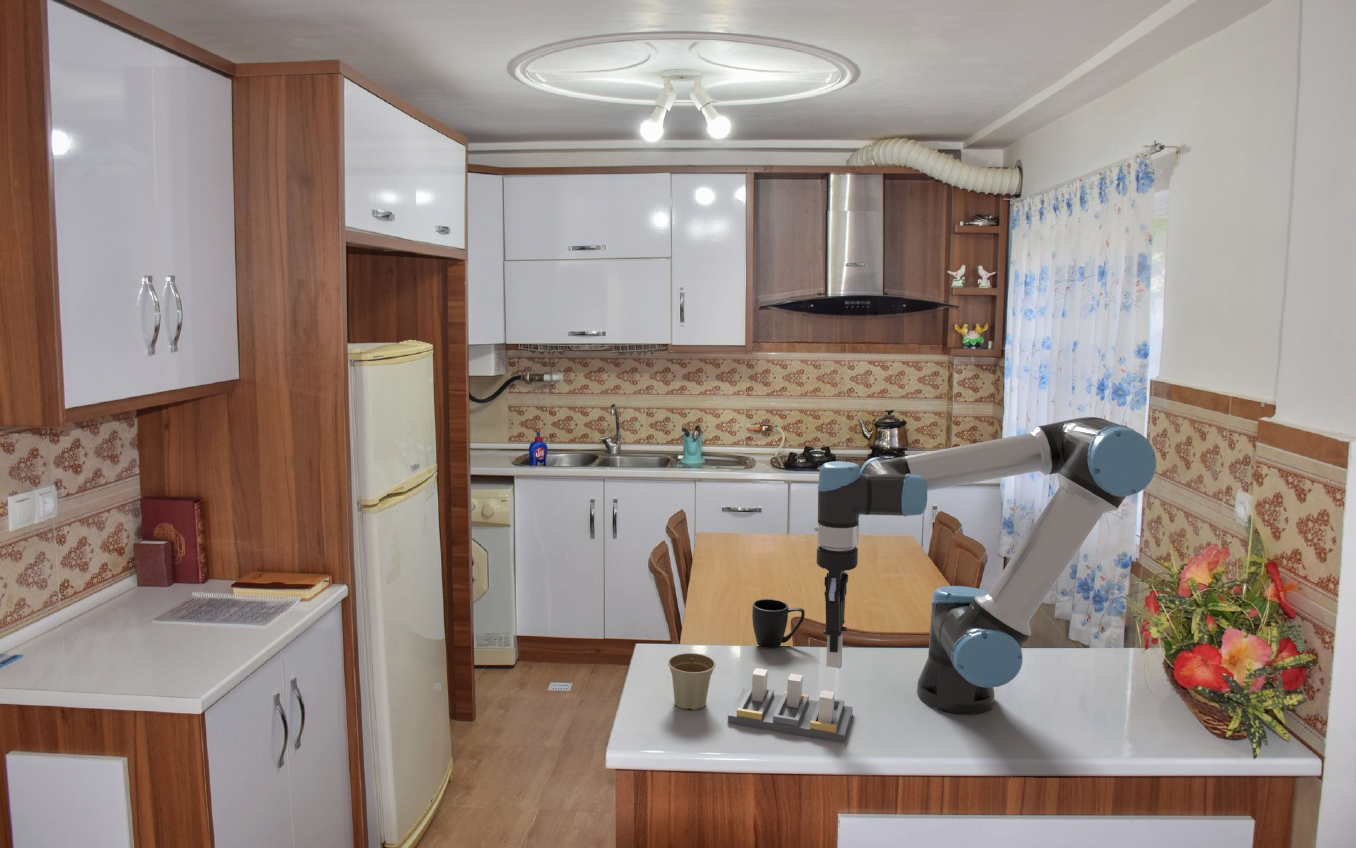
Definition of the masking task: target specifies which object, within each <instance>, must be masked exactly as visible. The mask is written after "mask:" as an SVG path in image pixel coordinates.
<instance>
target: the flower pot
mask: <svg viewBox="0 0 1356 848" xmlns="http://www.w3.org/2000/svg"><path fill="white" fill-rule="evenodd" d="M667 665H668V667H669V669H670V673H671V677H672V678H671V679H672V688H673V689H672V690H673V701H674V704H675V706H677V707H678V708H679V709H682V710H688V709H690V710H693V711H695V710H699V709H702V708H704V707H705V706H706V704H707V698H708V691H709V685H710V681H711V677H712V674H713V671H714V670H715V668H716V665H717V664H716V661H715V660H714V659H713V658H712V657H710V656H708V655H705V654H701V653H697V652H696V653H694V652H685V653H678V654H676V655H675V654H674V655H673V656H671V657H670V658H668V660H667Z"/></svg>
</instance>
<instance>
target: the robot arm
mask: <svg viewBox="0 0 1356 848" xmlns="http://www.w3.org/2000/svg"><path fill="white" fill-rule="evenodd" d="M1156 469H1157V457H1156V453H1155V449H1154V447H1153V445H1152V444H1151V442H1150V441H1149V439H1148V438H1146V436H1144V435H1143V434H1141V433H1139V431H1137V430H1135V429H1134V428H1131V427H1128V426H1127V425H1123V424H1119V423H1116V422H1112V421H1110V420H1107V419H1105V418H1101V417H1097V416H1085V417H1078V418H1072V419H1067V420H1063V421H1058V422H1053V423H1049V424H1044V425H1043V424H1042V425H1038V426H1035V427H1033V429H1032V430H1031V431H1030V432H1029V433H1024V434H1019V435H1013V436H1007V437H1003V438H997V439H993V440H986V441H980V442H975V443H969V444H963V445H959V446H954V447H949V448H943V449H937V450H932V451H927V452H921V453H915V454H912V455H907V456H906V455H905V456H901V457H894V458H889V459H887V458H884V457H878V456H876V457H872V458H869V459H868V460H866V461H865V462H864V463H863V464H862V465H861V466H859V464H857V463H855V462H851V461H841V460H840V461H829V462H825V463H823V464H822V465H821V466H820V467H819V474H818V475H819V476H818V485H817V525H814V528H813V529H814V532H817V543H818V545H817V547H816V564H817V565H818V567H819V568H821V569H823V570H824V569H825V570H827V572H826V576H824V587H825V590H824V598H825V600H824V601H825V629H824V630H823V632H822V635H826V663H825V664H826V666H825V667H828V668H838V669H841V668H842V665H843V639H844V638H843V636H844V635H843V633H844V632H847V630H848V629H847V628H848V627H847V626H844V624H845V623H846V621H845V609H846V595H847V590H848V588H847V585H848V582H849V573H848V572H846V571H851V570H854V569H855V568H857V566H858V560H859V559H858V557H859V549H858V547H857V546H858V545H859V532H860V520H859V518H860V516H897V517H899V516H900V517H901V516H903V517H909V516H920V515H923V514H924V513H925V512H926V509H927V505H928V492H930V491H934V490H941V489H946V488H952V487H958V486H963V485H968V484H974V483H979V482H985V481H990V480H991V481H992V480H995V479H1003V478H1008V477H1013V476H1018V475H1024V474H1030V473H1036V472H1040V473H1041V474H1043V476H1049V475H1054V474H1056V476H1057V480H1058V488H1057V490H1056V491H1055V493H1054V494H1053V496H1052V497H1051V498H1050V500H1049V502H1048V503H1047V504H1046V506H1045V508H1044V509H1043V510H1042V512H1041V514H1040V515H1039V517H1038V518H1037V520H1036V521H1035V523H1034V524H1033V526H1032V527H1031V529H1030V530H1029V531H1028V533H1027V535H1026V536H1025V538H1024V539H1023V540H1022V542H1021V544H1020V546H1019V547H1017V549H1016V551H1015V552H1014V554H1013V555H1012V556H1011V559H1010V560H1009V561H1008V563H1007V564H1006V566H1005V567H1004V569H1003V570H1002V572H1001V573H1000V575H999V576H998V578H997V579H996V581H995V582H994V584H993V585H992V587H991V588H990V589H989V591H987V590H984V589H981V588H977V587H970V586H964V585H963V586H961V585H948V586H947V585H946V586H940V587H938V588H936V589H935V590H934V591H933V595H932V600H931V602H930V605H931V613H930V614H931V615H930V626H929V628H930V629H929V641H928V643H929V644H928V655H927V656H928V657H927V659H926V662H925V664H924V666H923V668H922V671H921V672H920V676H919V678H918V679H917V680H918V681H917V688H916V695H917V696H918V697H919V699H920V700H921V701H923V702H924V703H925V704H927V705H928V706H930V707H933V708H935V709H938V710H940V711H941V710H942V711H944V712H948V713H953V714H960V715H962V714H963V715H975V714H981V713H985V712H988V711H989V710H991V709H992V708H993V707H994V705H995V689H994V688H998V687H1002V686H1004V685H1006V684H1008V683H1010V682H1011V681H1012V680H1014V679H1015V678H1016V677H1017V676H1018V674H1019V673H1020V671H1021V669H1022V666H1023V652H1022V648H1023V647H1024V645H1025V644H1026V643H1027V641H1028V640H1029V638H1030V637H1031V635H1032V630H1031V626H1030V622H1031V619H1032V618H1033V616H1034V615H1035V614H1036V612H1037V611H1038V608H1039V607H1040V606H1041V605H1042V603H1043V602H1044V600H1045V598H1047V596H1048V595H1049V593H1050V591H1051V590H1052V589H1053V587H1054V586H1055V584H1056V583H1057V581H1058V580H1059V578H1060V577H1061V576H1062V574H1063V573H1064V571H1065V570H1066V568H1067V567H1068V565H1069V564H1070V563H1071V561H1072V559H1073V558H1074V556H1075V555H1076V554H1077V552H1078V551H1079V549H1080V547H1081V546H1082V545H1083V544H1084V542H1085V540H1086V539H1087V537H1088V536H1089V534H1091V532H1092V530H1093V529H1094V527H1095V526H1096V524H1097V523H1098V522H1099V520H1100V519H1101V517H1102V516H1103V514H1105V513H1109V512H1112V511H1117V510H1118V509H1119V507H1120V505H1121V504H1122V503H1123V502H1124V500H1125V499H1126V498H1127V497H1130V496H1132V495H1135V494H1138V493H1140V492H1142V491H1144V490H1145V489H1146V488H1147V487H1148V486H1149V484H1150V483H1151V482H1152V480H1153V478H1154V477H1155V473H1156Z"/></svg>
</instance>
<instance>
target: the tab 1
mask: <svg viewBox="0 0 1356 848" xmlns="http://www.w3.org/2000/svg"><path fill="white" fill-rule="evenodd" d="M768 674H769V670H768V669H766V668H765V669H764V668H758V667H756V668H755V669H754V670H753V673H752V679H751V682H752V683H751V686H752V701H758V702H764V700H765V698H766V696H767V688H768V678H769V677H768V676H769V675H768Z"/></svg>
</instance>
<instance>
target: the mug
mask: <svg viewBox="0 0 1356 848" xmlns="http://www.w3.org/2000/svg"><path fill="white" fill-rule="evenodd" d="M751 612H752V613H751V614H752V615H751V617H752V628H753V631H754V636H755V640H756V644H757V645H758V646H759V647H760V648H764V649H777V648H779V647H780V646H782V644H785V643H787V642H788V641H789V640H790V639H791V638H792V637H793V636H794V634H796V632H797V630H798V629H799V628H800V626H801V625H802V623H803V621H804V619H805V609H804V608H801V607H792V608H791V607H790V608H789V604H788V603H787V602H785V601H783V600H779V599H773V598H763V599H757V600H755V601H753V603H752V611H751ZM792 612H801V615H800V618H799V620H798V622H797V624H795V626H794V627H793V629H792V630H791V631H790V633H788V634H787V635H785V632H786V629H787V625H788V620H789V619H788V618H789V613H792Z"/></svg>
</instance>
